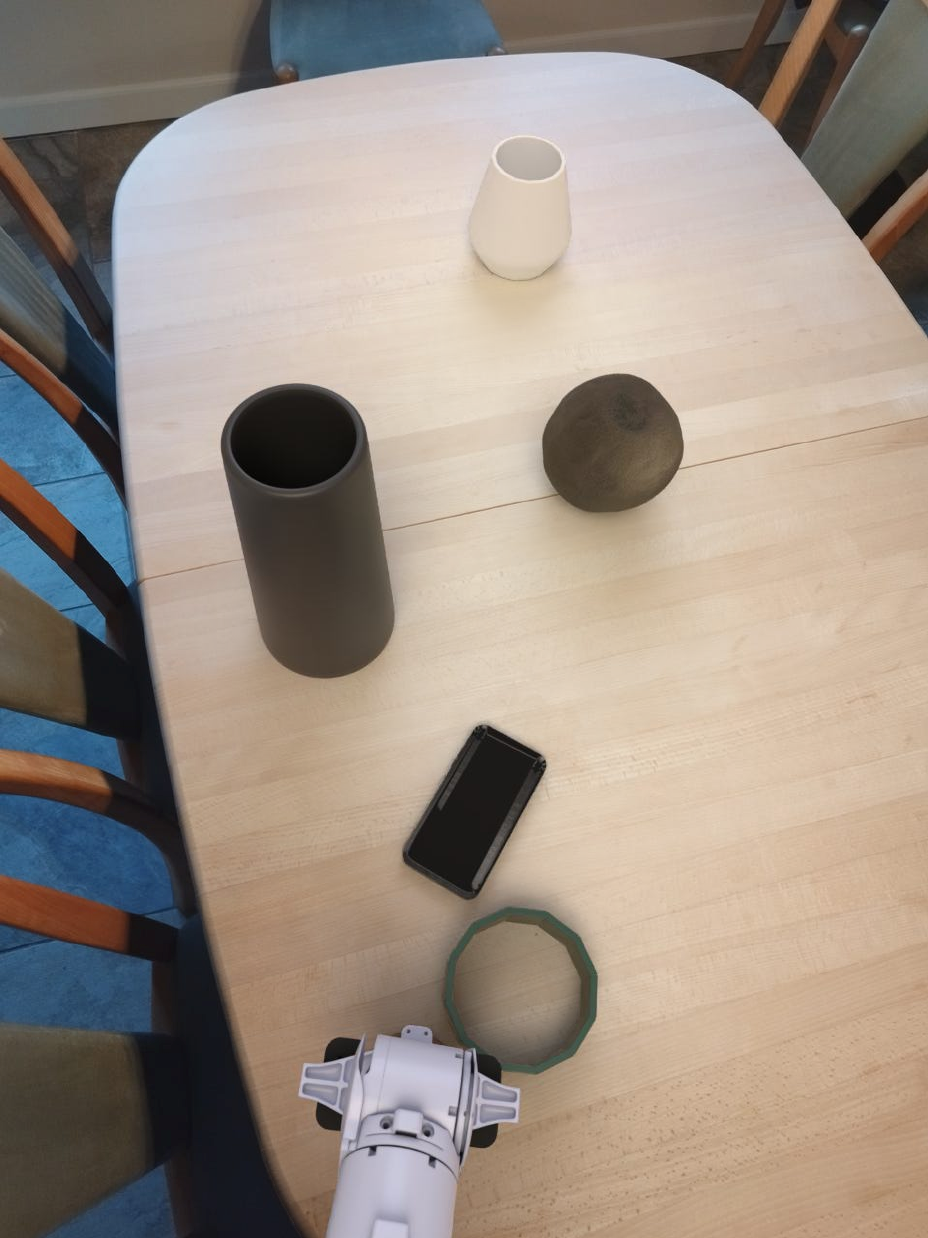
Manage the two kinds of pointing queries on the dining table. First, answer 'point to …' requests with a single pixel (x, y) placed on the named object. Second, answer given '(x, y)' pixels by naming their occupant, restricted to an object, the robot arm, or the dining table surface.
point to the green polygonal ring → (579, 960)
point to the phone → (474, 812)
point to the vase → (309, 528)
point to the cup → (522, 209)
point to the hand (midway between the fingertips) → (410, 1088)
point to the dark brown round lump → (612, 444)
